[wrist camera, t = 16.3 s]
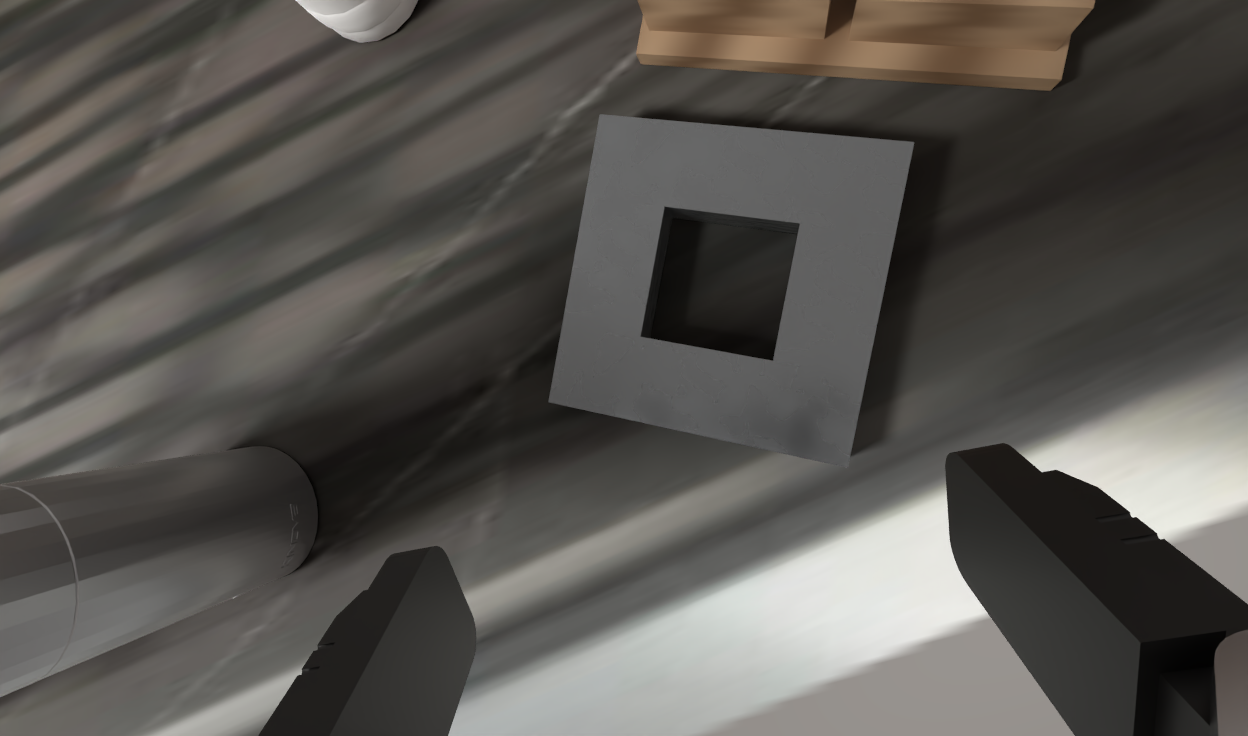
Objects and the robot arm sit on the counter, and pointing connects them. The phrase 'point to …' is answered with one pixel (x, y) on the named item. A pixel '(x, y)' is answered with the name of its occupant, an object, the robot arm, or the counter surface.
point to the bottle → (361, 16)
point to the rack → (869, 38)
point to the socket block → (745, 197)
